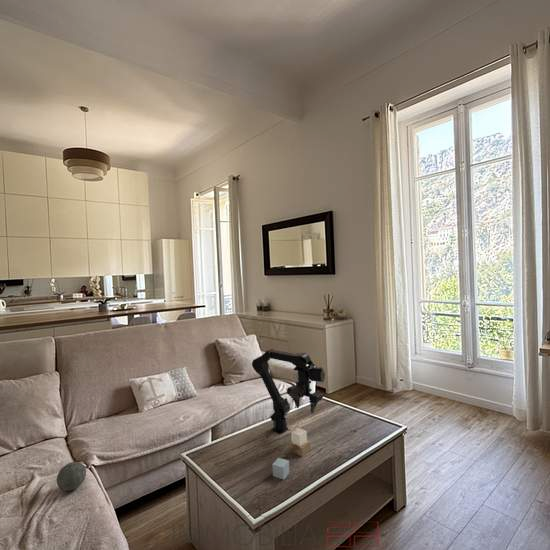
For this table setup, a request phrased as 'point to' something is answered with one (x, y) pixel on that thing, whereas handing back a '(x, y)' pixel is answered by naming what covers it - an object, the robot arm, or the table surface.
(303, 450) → the brown wooden block
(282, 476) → the slate cube
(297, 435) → the cream cube
